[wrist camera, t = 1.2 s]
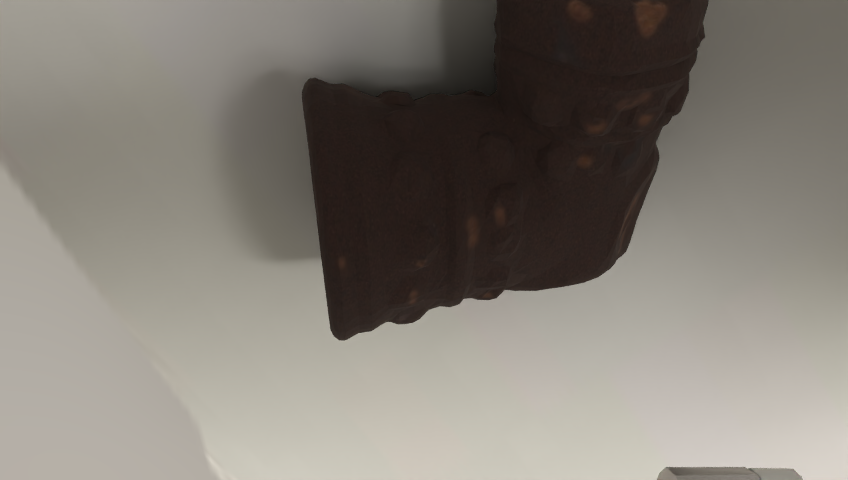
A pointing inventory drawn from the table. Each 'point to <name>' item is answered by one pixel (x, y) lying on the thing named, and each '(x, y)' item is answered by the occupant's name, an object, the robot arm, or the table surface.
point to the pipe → (498, 162)
